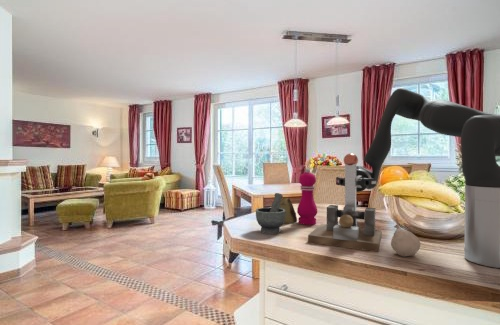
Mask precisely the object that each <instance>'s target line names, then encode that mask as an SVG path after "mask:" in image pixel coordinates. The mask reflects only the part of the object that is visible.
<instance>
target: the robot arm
mask: <svg viewBox="0 0 500 325" xmlns="http://www.w3.org/2000/svg"><path fill="white" fill-rule="evenodd" d="M396 115H397V116H400V117H403V118H405V119H409V120H412V121H413V120H414V121H419V122H420V123H421V124H422V125H423V127H425V128H427V129H428V130H431V131H433V132H435V133H437V134H441V135H445V136H449V137H456V138H460V149H461V150H460V151H461V170H462V174H463V176H464V180H465V181H464V184H465V186H464V245H463V246H464V247H463V248H464V249H463V251H464V255H463V257H464V258H465V260H467V261H469V262H471V263H474V264H477V265H481V266H485V267H490V268H496V269H500V165H499V164H498V163H497V160H496V159H497V158H496V157H500V113H499V114H497V113H492V112H485V111H482V110H478V109H475V108H472V107H469V106H468V105H467V106H466V105H462V104H459V103H457V102H454V101H449V100H446V99H441V98H440V99H439V98H438V99H432V100H431V99H429V98H427V97H425V96H424V95H422V94H419V93H417V92H415V91H412V90H411V89H407V88H404V87H399V88H396V89H395V90H394V91H393V92H392V93H391V95H390V97H389V98H388V100H387V102H386V105H385V108H384V111H383V113H382V115H381V118H380V121H379V125H378V127H377V131H376V133H375V135H374V138H373V139H372V142H371V143H370V146H369V148H368V150H367V152H366V153H365V156H364V158H363V161H364V162H365V163H366V164H367V165H369V166H370V167H371V168H372V171H371V170H369V169H367V168H365V167H363V166H361V165H356V193H360V192H364V191H365V190H366V189H367V190H373V189H374V188H375V187H377V184H378V180H379V176H380V171H381V169H382V166H383V164H384V162H385V159H387V156H388V155H389V153H390V150H391V148H392V131H391V130H392V123H393V120H394V118H395V116H396ZM335 185H337V186H341V187H342V186H343V187H345V177H339V176H337V177H335Z"/></svg>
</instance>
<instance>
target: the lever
mask: <svg viewBox="0 0 500 325" xmlns="http://www.w3.org/2000/svg"><path fill="white" fill-rule="evenodd" d="M343 163H344V178H345V186H344V206H343V208H342V209H338V210H337V217H338V218H340V217H341V216H342V215H345V214H347V215H350V216H351V217H352V218H353V225H352V226H355V227H358V220H365V211H359V210H357V192H356V166H358V163H359V158H358V155H356V154H355V153H352V152H350V153H347V154H346V155H345V156H344V157H343Z"/></svg>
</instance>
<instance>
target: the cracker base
mask: <svg viewBox="0 0 500 325" xmlns="http://www.w3.org/2000/svg"><path fill="white" fill-rule="evenodd" d="M337 210H339V205H337V204H329V205H328V206H327V207H326V224H325V223H320V225H318V226H317V227H316V228H315V229H313V230H312V231H311V232H309V233H308V235H307V242H308V243H310V244H311V243H312V244H319V245H326V246H333V247H340V248H341V247H342V248H348V249H354V250H355V249H356V250H361V251H369V252H370V251H371V252H379V250H380V245H381V240H382V229H376V207H365V210H364V212H365V219H364V227H359V226H357V227H355V226H352V225H353V218H352V217H351V216H350V215H347V214H345V215H342V216H341V217H337Z"/></svg>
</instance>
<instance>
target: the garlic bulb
mask: <svg viewBox="0 0 500 325" xmlns="http://www.w3.org/2000/svg"><path fill="white" fill-rule="evenodd" d="M393 228H395V229H396V230H395V231H394V232H393V235H392V238H391V242H390V245H391V248H392V250H393V251H395V252H396V254H397V255H399V256H400V257H410V256H415V255H416V254H417V253H418V252H419V250H420V249H421V240H420V239H419V238H418V236H416V235H415V234H414V233H413V232H411V231H409V230H407V229H406V230H405V229H403V228H401V227H400V225H399V224H398V223H397V224H395V225H394V226H393Z"/></svg>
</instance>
